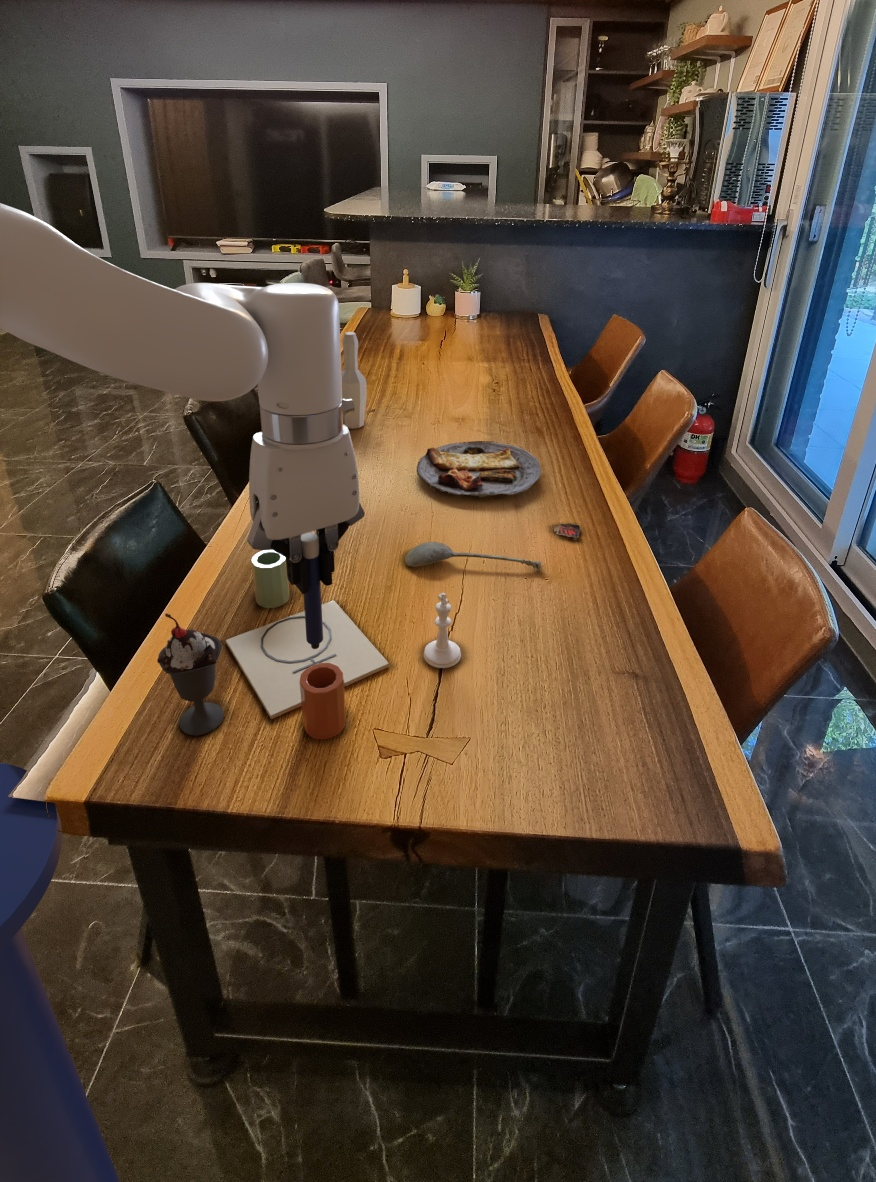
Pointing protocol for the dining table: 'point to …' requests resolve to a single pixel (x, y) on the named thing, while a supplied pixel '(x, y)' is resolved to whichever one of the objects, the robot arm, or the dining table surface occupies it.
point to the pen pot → (323, 700)
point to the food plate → (479, 468)
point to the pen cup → (270, 579)
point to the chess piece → (442, 639)
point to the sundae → (193, 676)
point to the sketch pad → (301, 656)
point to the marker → (312, 591)
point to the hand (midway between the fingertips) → (311, 581)
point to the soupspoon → (450, 555)
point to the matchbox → (568, 530)
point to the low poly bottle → (353, 382)
